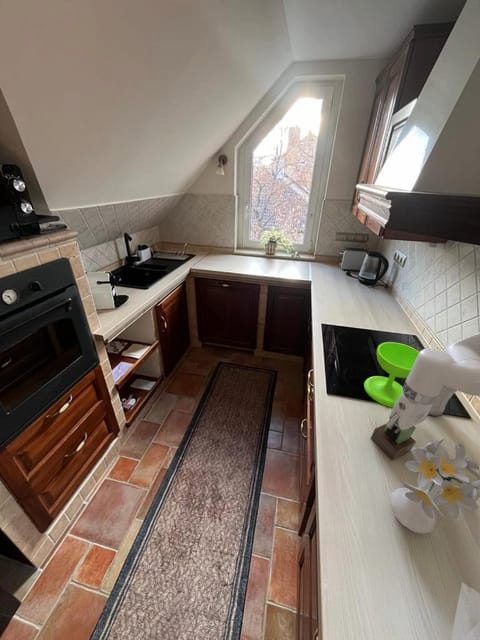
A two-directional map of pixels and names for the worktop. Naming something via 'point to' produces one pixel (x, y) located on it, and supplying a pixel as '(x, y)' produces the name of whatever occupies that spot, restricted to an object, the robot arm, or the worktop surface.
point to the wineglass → (391, 372)
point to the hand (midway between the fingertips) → (397, 433)
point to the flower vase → (435, 487)
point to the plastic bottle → (441, 401)
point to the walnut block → (391, 443)
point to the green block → (403, 434)
